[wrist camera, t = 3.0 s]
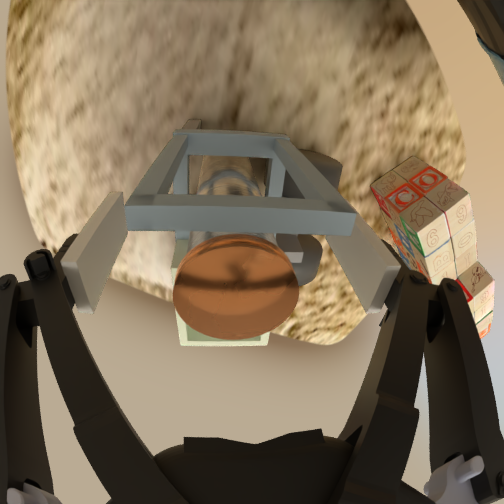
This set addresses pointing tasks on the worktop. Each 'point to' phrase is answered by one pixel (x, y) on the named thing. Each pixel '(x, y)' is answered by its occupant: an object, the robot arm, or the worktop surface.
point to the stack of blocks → (436, 232)
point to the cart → (246, 207)
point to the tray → (194, 337)
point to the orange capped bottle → (233, 267)
